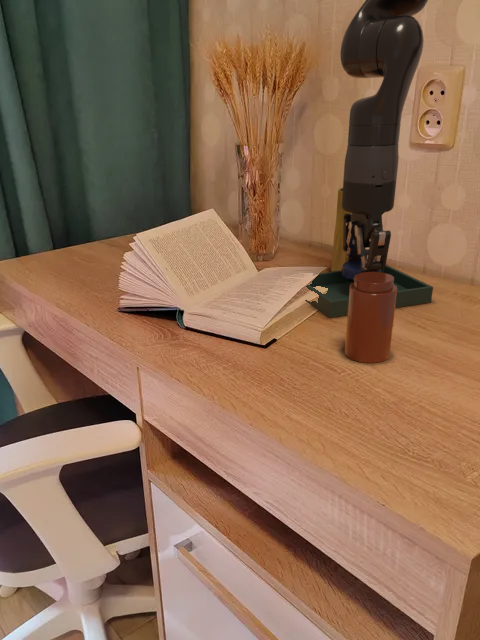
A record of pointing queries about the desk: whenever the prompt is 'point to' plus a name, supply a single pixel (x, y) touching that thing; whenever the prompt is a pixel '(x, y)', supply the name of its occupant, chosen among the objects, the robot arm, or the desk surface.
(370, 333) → the jar
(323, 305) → the tray
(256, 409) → the desk surface
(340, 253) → the vase
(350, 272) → the lid
